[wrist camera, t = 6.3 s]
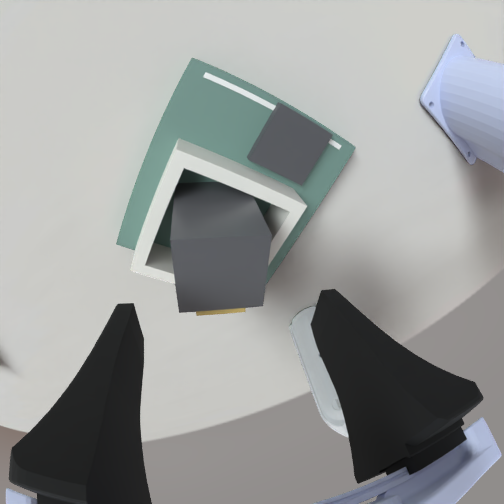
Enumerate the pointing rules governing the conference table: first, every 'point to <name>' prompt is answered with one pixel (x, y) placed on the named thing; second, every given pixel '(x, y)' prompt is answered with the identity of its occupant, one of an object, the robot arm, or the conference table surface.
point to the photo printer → (317, 371)
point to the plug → (218, 249)
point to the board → (230, 163)
